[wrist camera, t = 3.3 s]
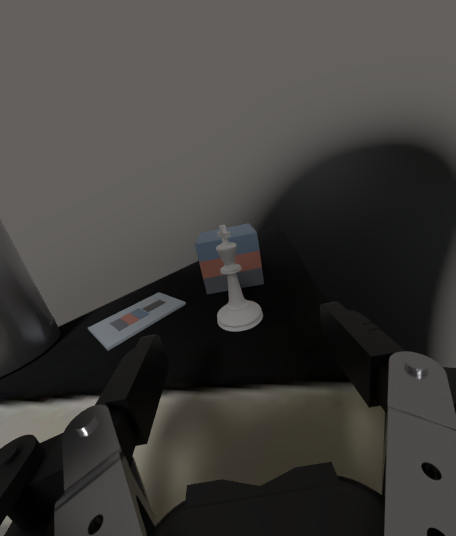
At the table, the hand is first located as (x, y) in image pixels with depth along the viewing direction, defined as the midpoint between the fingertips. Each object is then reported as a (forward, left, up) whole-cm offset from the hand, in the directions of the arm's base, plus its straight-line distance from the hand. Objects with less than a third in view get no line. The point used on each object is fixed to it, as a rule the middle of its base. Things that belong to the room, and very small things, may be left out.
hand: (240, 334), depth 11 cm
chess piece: (+8, +8, -6) cm, 13 cm away
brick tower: (+16, +16, -6) cm, 23 cm away
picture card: (+2, +20, -6) cm, 21 cm away
